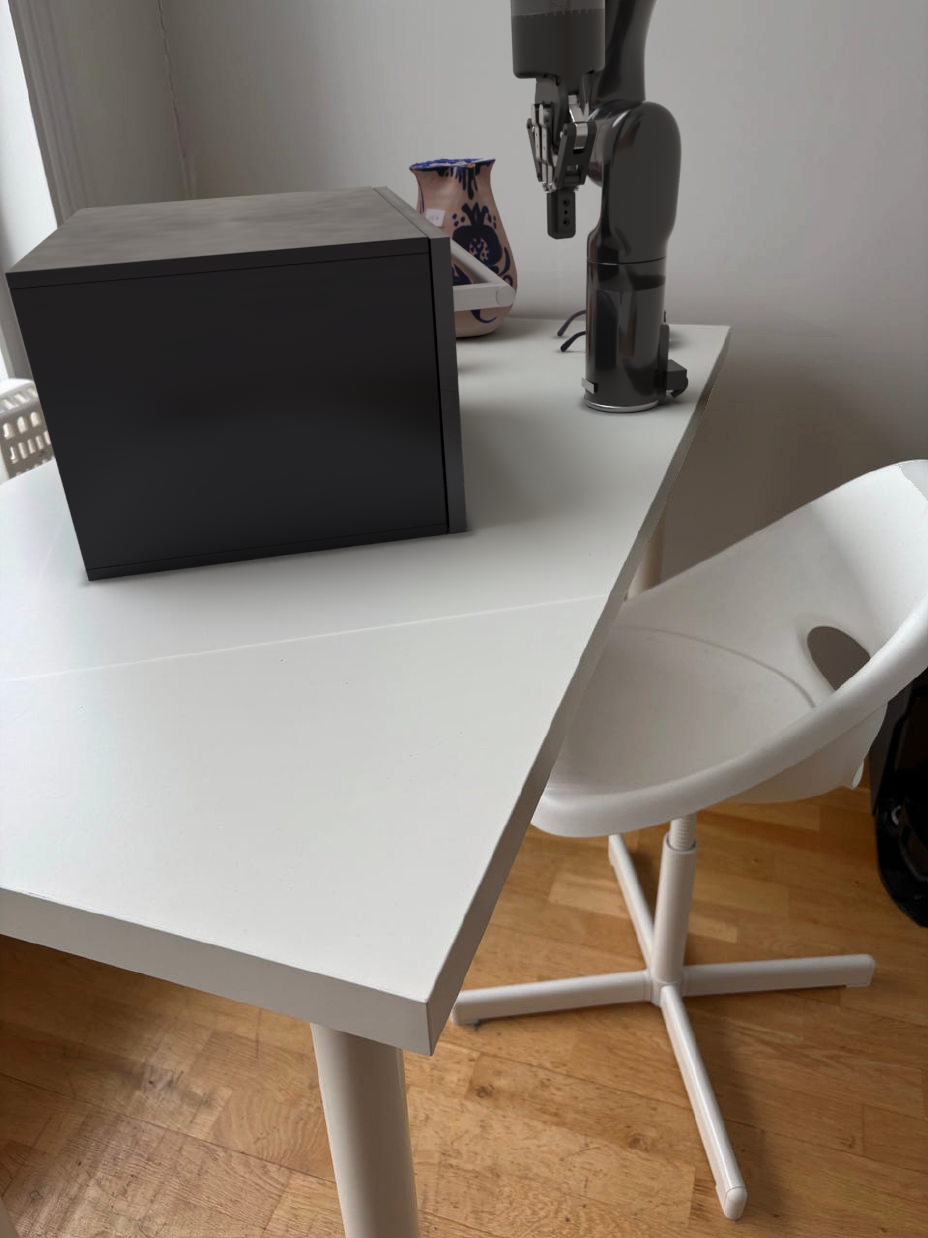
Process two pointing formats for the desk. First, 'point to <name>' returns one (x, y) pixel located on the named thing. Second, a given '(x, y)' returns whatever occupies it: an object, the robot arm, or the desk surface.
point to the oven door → (452, 340)
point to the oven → (236, 377)
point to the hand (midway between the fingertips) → (561, 237)
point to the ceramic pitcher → (468, 228)
